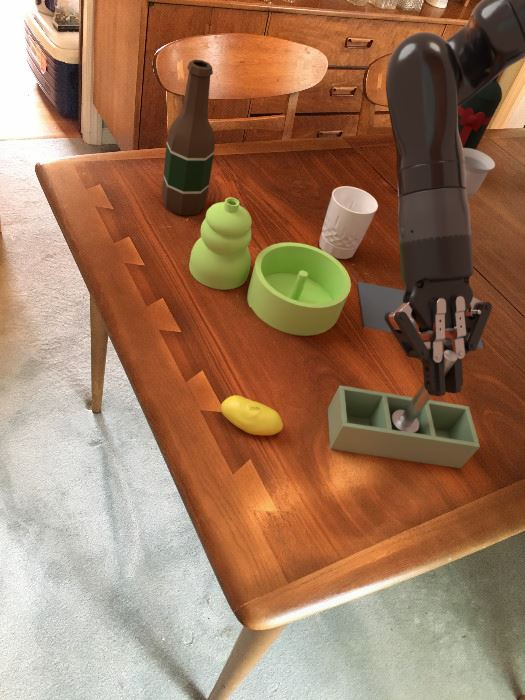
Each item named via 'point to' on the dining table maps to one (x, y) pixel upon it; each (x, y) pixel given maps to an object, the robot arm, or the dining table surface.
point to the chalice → (475, 169)
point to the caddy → (380, 440)
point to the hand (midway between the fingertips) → (444, 393)
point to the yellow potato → (251, 416)
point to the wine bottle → (478, 114)
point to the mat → (382, 306)
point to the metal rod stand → (418, 401)
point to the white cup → (346, 221)
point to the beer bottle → (190, 147)
